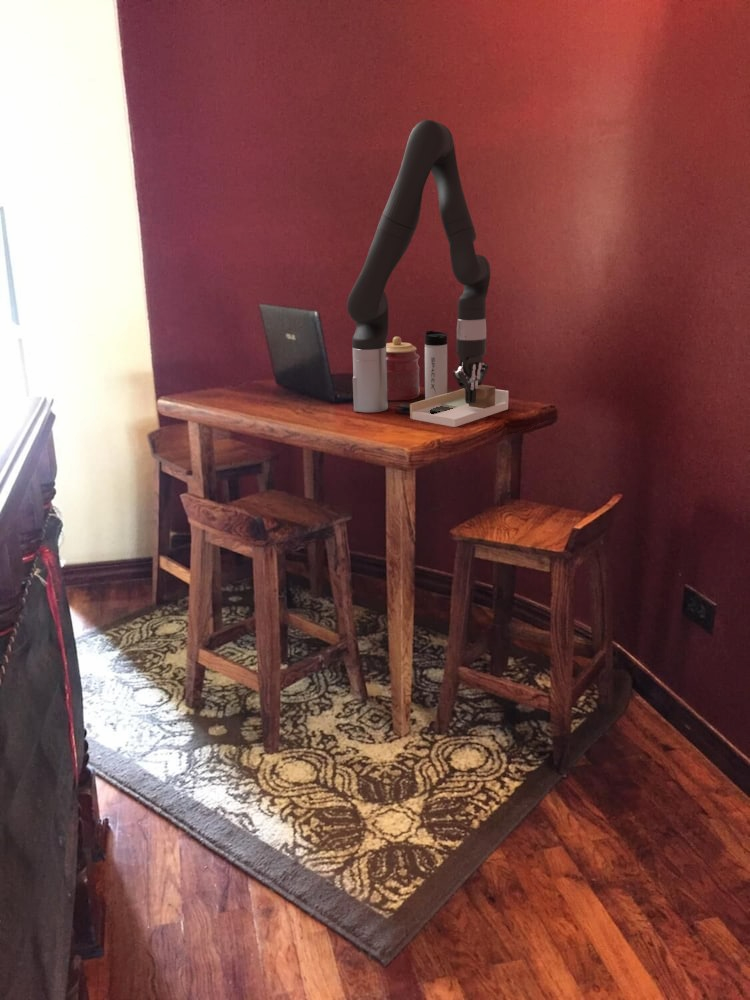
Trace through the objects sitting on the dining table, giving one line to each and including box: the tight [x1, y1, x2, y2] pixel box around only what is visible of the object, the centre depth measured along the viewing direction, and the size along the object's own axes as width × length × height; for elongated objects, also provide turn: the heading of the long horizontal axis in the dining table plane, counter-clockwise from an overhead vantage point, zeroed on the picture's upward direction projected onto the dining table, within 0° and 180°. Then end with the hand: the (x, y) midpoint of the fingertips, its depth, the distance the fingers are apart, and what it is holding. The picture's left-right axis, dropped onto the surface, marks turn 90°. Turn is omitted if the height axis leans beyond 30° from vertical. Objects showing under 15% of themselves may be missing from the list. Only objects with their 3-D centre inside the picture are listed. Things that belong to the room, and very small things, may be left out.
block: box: [469, 384, 496, 409], centre depth 207 cm, size 5×5×5 cm
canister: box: [386, 336, 421, 402], centre depth 228 cm, size 13×13×18 cm
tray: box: [409, 388, 510, 428], centre depth 208 cm, size 24×15×5 cm, turn 137°
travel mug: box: [424, 330, 448, 400], centre depth 218 cm, size 6×7×20 cm
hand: (470, 403), depth 204 cm, fingers closed
